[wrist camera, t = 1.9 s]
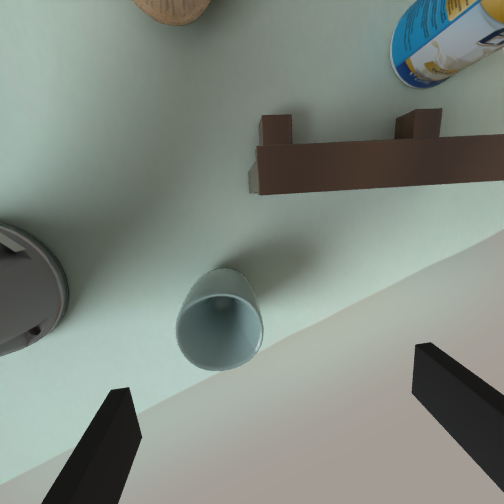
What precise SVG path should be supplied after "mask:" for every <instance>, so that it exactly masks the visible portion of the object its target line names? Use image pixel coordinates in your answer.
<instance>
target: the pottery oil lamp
mask: <svg viewBox="0 0 504 504" xmlns="http://www.w3.org/2000/svg"><path fill="white" fill-rule="evenodd" d="M133 1H134V3H135V4H136V5H137V6H138V7H139V8H140V9H141V10H143V11H144V12H145V13H146V14H148V15H149V16H150V17H152V18H153V19H154V20H155V21H157V22H160V23H163V24H168V25H176V26H182V25H186V24H189V23H191V22H193V21H195V20H196V19H197V18H198V17H199V16H200V15H201V14H202V13H203V12H204V11H205V9H206V8H207V7H208V5H209V3H210V1H211V0H133Z"/></svg>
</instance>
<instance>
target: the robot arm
mask: <svg viewBox="0 0 504 504" xmlns="http://www.w3.org/2000/svg"><path fill="white" fill-rule="evenodd" d="M67 304H68V285H67V280H66V277H65V274H64V272H63V269H62V267H61V266H60V264H59V262H58V261H57V259H56V258H55V256H54V255H53V254H52V253H51V252H50V251H49V249H48V248H47V247H46V246H44V245H43V244H42V243H41V242H40V241H38V240H37V239H36V238H34V237H33V236H31V235H30V234H28V233H26V232H24V231H22V230H20V229H18V228H15V227H13V226H10V225H6V224H2V223H0V357H1V356H4V355H6V354H9V353H12V352H15V351H18V350H21V349H23V348H25V347H27V346H29V345H31V344H33V343H35V342H37V341H38V340H39V339H41V338H42V337H44V336H45V335H46V334H48V333H49V332H50V331H52V330H53V329H54V328H55V327H56V326H57V325H58V323H59V322H60V321H61V319H62V317H63V316H64V313H65V311H66V308H67ZM412 394H413V395H414V396H415V397H416V398H417V399H418V400H419V401H420V402H421V403H422V405H423V406H424V407H425V408H426V409H427V410H428V411H429V412H430V413H431V414H432V415H433V417H434V418H435V419H436V420H437V421H438V422H439V423H440V424H441V425H442V426H443V427H444V428H445V430H447V432H448V433H449V434H450V435H451V436H452V437H453V438H454V439H455V440H456V441H457V442H458V444H459V445H460V446H461V447H462V448H463V449H464V450H465V451H466V452H467V453H468V454H469V455H470V456H471V457H472V459H473V460H474V461H475V462H476V463H477V464H478V465H479V466H480V467H481V468H482V469H483V471H484V472H485V473H486V474H487V475H488V476H489V477H490V478H491V479H492V480H493V481H494V482H495V483H496V485H497V486H498V487H499V488H500V489H501V490H502V491H503V492H504V395H503V394H501V393H500V392H499V391H497V390H496V389H494V388H493V387H492V386H490V385H489V384H488V383H486V382H485V381H483V380H482V379H481V378H479V377H478V376H476V375H475V374H474V373H472V372H471V371H470V370H468V369H467V368H465V367H464V366H463V365H461V364H460V363H459V362H457V361H456V360H454V359H453V358H452V357H450V356H449V355H448V354H446V353H445V352H443V351H442V350H441V349H439V348H438V347H436V346H435V345H434V344H432V343H431V342H430V343H423V344H417V345H415V357H414V369H413V382H412ZM141 439H142V435H141V431H140V427H139V423H138V420H137V416H136V412H135V408H134V404H133V400H132V396H131V393H130V389H129V387H127V388H121V389H114V390H111V391H110V392H109V394H108V395H107V397H106V399H105V400H104V402H103V404H102V405H101V407H100V408H99V410H98V412H97V413H96V415H95V417H94V418H93V420H92V422H91V423H90V425H89V426H88V428H87V430H86V431H85V433H84V435H83V436H82V438H81V440H80V441H79V443H78V444H77V446H76V448H75V449H74V451H73V453H72V454H71V456H70V457H69V459H68V461H67V462H66V464H65V466H64V467H63V469H62V471H61V472H60V474H59V476H58V477H57V479H56V480H55V482H54V484H53V485H52V487H51V489H50V490H49V492H48V493H47V495H46V497H45V498H44V500H43V502H42V504H118V502H119V499H120V497H121V494H122V491H123V488H124V486H125V483H126V480H127V477H128V475H129V472H130V469H131V466H132V463H133V460H134V458H135V455H136V452H137V450H138V447H139V444H140V441H141Z"/></svg>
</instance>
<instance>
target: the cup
mask: <svg viewBox="0 0 504 504" xmlns="http://www.w3.org/2000/svg"><path fill="white" fill-rule="evenodd" d="M176 339H177V343H178V345H179V348H180V350H181V352H182V353H183V355H184V356H185V357H186V358H187V359H188V360H189V361H190V362H191V363H192V364H194V365H195V366H197V367H199V368H202V369H205V370H210V371H224V370H229V369H233V368H236V367H238V366H241V365H243V364H244V363H246V362H248V361H249V360H250V359H251V358H253V356H254V355H255V354H256V353H257V352H258V350H259V348H260V346H261V344H262V340H263V321H262V315H261V311H260V307H259V303H258V300H257V297H256V294H255V292H254V289H253V287H252V285H251V284H250V282H249V280H248V279H247V278H246V277H245V276H244V275H243V274H241V273H240V272H238V271H236V270H234V269H228V268H221V269H215V270H212V271H210V272H208V273H206V274H204V275H203V276H201V277H200V278H199V279H198V280H197V281H196V282H195V283H194V285H193V286H192V287H191V289H190V290H189V292H188V294H187V296H186V298H185V300H184V302H183V305H182V307H181V309H180V312H179V314H178V317H177V321H176Z"/></svg>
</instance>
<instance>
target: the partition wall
mask: <svg viewBox="0 0 504 504" xmlns="http://www.w3.org/2000/svg"><path fill="white" fill-rule="evenodd" d="M441 116H442V108H439V109H415V110H413V111H411V112H409V113H407V114H405V115H403V116H401V117H399V118H397V119H396V129H395V139H392V140H371V141H350V142H329V143H308V144H292V115H291V114H285V115H262V117H261V119H260V122H259V144H260V146H257V147H256V149H255V154H256V161H255V163H254V164H253V166H252V167H251V169H250V170H249V172H248V181H249V193H250V194H251V193H258V195H275V194H291V193H307V192H323V191H339V190H356V189H372V188H388V187H404V186H420V185H437V184H453V183H469V182H485V181H501V180H504V134H497V135H476V136H455V137H439V134H440V125H441Z"/></svg>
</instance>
